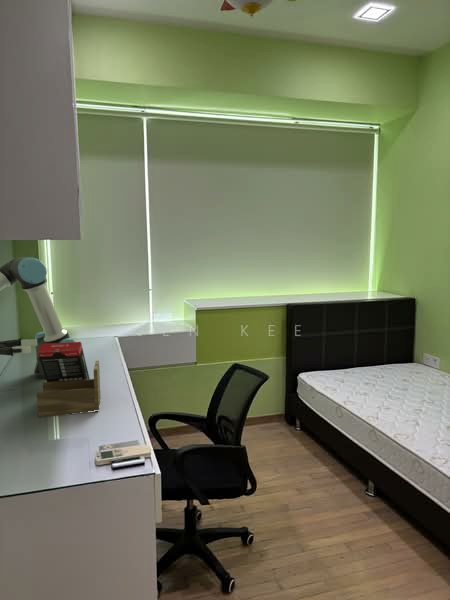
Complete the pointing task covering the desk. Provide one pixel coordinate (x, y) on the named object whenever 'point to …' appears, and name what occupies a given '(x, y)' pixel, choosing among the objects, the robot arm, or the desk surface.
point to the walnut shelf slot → (70, 396)
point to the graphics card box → (63, 361)
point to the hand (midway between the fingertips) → (33, 345)
